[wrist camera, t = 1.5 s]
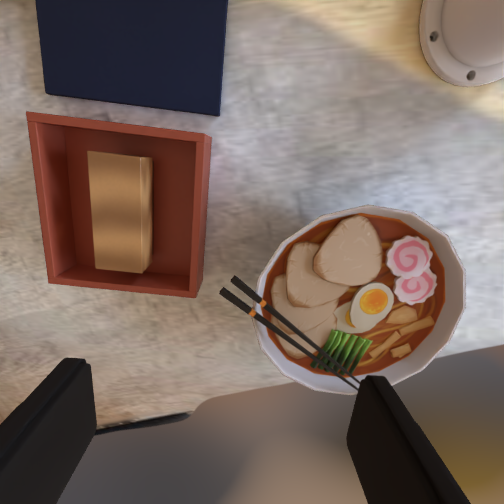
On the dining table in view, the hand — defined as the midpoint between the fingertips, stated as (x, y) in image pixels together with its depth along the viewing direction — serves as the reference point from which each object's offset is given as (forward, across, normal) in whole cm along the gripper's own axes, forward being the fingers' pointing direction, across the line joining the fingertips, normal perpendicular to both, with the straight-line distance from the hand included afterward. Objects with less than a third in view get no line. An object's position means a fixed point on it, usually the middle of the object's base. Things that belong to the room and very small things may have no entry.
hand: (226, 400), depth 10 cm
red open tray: (+26, +12, -2) cm, 29 cm away
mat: (+26, +12, -23) cm, 36 cm away
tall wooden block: (+26, +12, -2) cm, 28 cm away
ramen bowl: (+26, -13, +6) cm, 30 cm away
